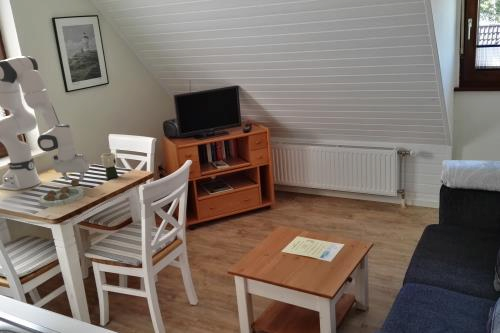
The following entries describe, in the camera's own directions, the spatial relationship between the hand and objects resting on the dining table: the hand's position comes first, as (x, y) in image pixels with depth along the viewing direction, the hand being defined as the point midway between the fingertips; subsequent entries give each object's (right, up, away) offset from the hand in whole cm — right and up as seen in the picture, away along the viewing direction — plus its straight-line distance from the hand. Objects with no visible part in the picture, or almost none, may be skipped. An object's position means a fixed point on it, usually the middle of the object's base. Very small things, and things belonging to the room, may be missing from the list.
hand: (74, 180), depth 272 cm
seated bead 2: (-4, -10, -22) cm, 25 cm away
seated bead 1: (-6, -8, -16) cm, 19 cm away
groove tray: (0, -9, -18) cm, 20 cm away
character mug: (+17, +1, +10) cm, 20 cm away
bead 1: (0, -7, -12) cm, 14 cm away
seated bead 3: (+3, -10, -23) cm, 25 cm away
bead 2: (0, -3, +2) cm, 4 cm away
